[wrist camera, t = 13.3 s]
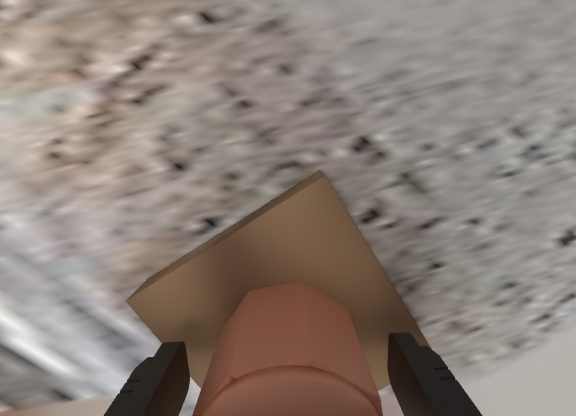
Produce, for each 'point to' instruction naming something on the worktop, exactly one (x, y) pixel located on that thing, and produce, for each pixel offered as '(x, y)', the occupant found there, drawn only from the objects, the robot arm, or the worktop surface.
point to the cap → (288, 359)
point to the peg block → (277, 277)
